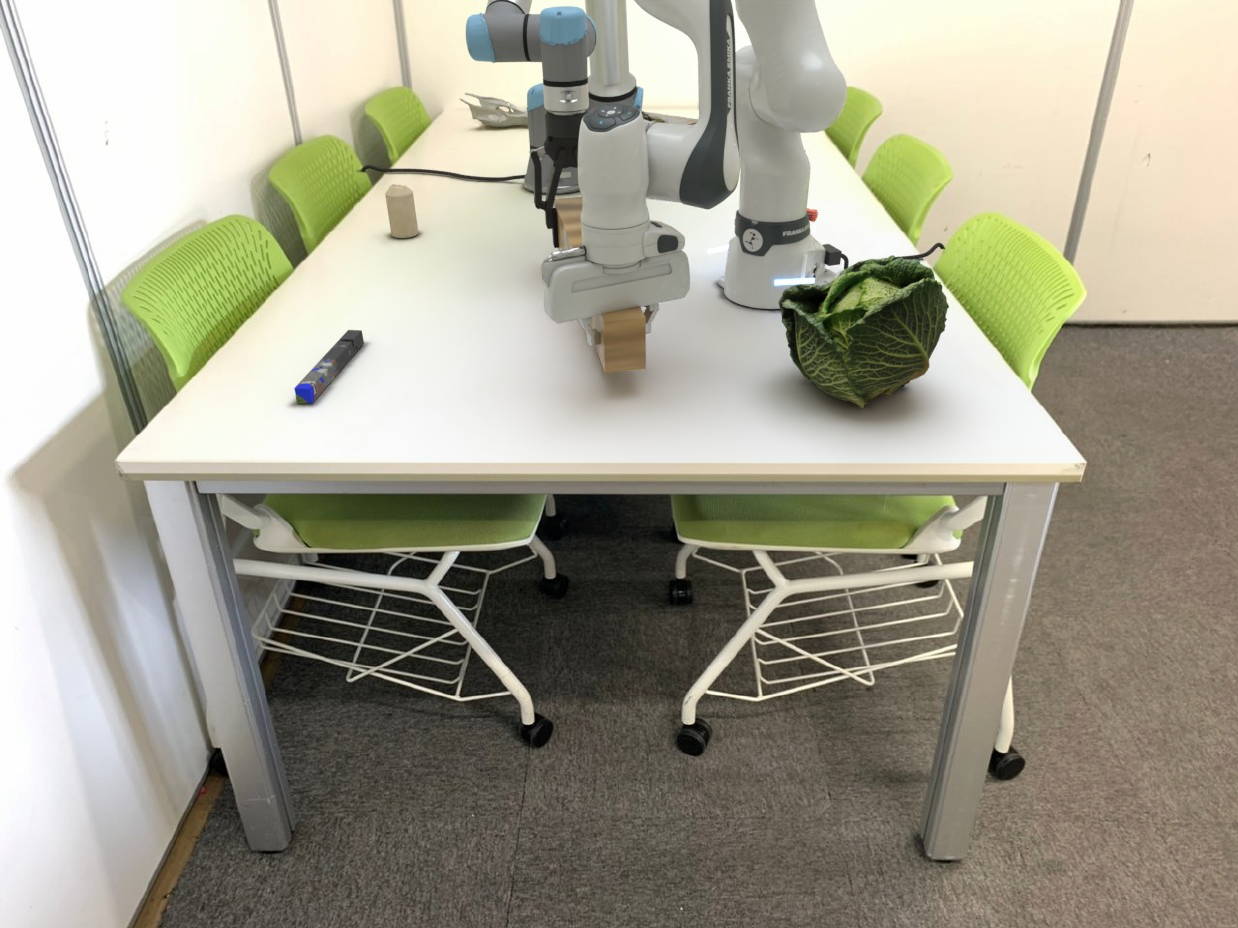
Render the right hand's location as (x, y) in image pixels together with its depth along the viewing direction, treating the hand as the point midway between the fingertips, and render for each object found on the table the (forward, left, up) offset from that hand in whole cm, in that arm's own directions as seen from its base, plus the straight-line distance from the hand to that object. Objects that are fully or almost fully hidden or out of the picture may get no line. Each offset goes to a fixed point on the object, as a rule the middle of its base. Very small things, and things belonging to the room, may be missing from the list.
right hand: (619, 338), depth 123 cm
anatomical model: (-113, -134, -7) cm, 176 cm away
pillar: (+23, -36, -7) cm, 43 cm away
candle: (-26, -77, -7) cm, 82 cm away
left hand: (-31, -35, -2) cm, 47 cm away
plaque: (-125, -93, -7) cm, 156 cm away
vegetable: (-18, +27, -7) cm, 34 cm away
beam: (-15, -18, -3) cm, 24 cm away
